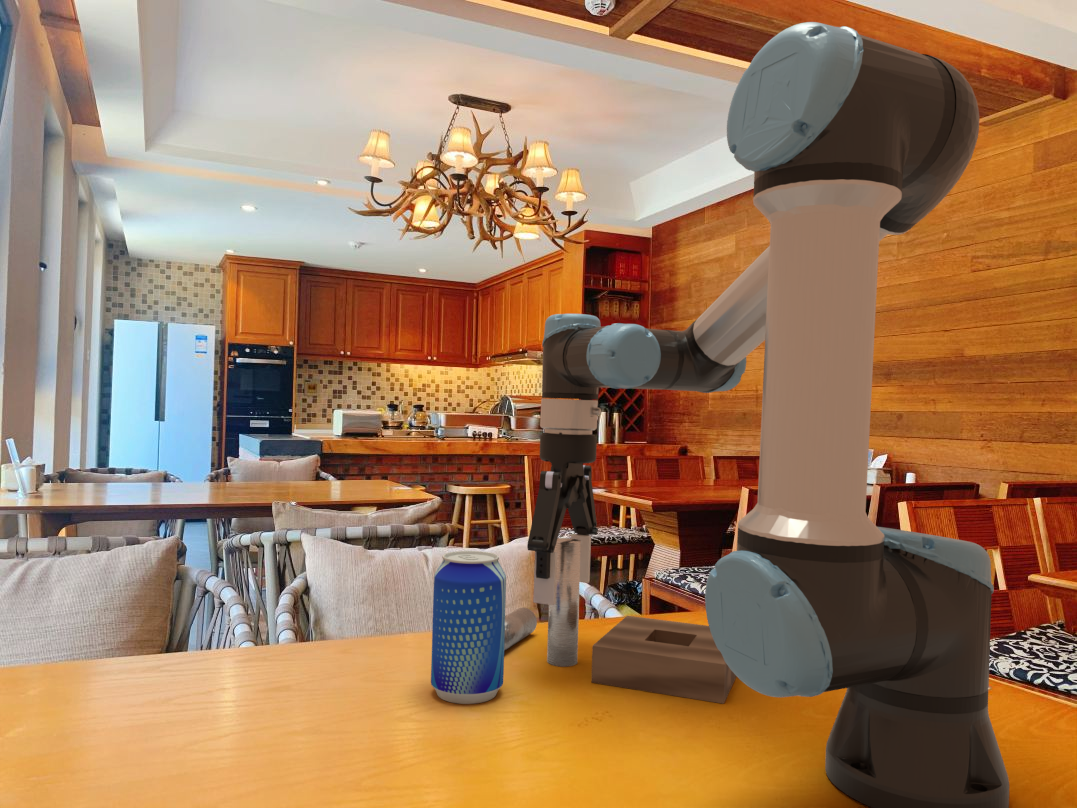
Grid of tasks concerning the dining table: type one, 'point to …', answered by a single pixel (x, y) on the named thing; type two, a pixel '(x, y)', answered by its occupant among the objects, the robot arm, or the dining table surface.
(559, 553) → the peg
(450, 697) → the beer can
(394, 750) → the dining table surface
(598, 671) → the socket block
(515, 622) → the lying peg
